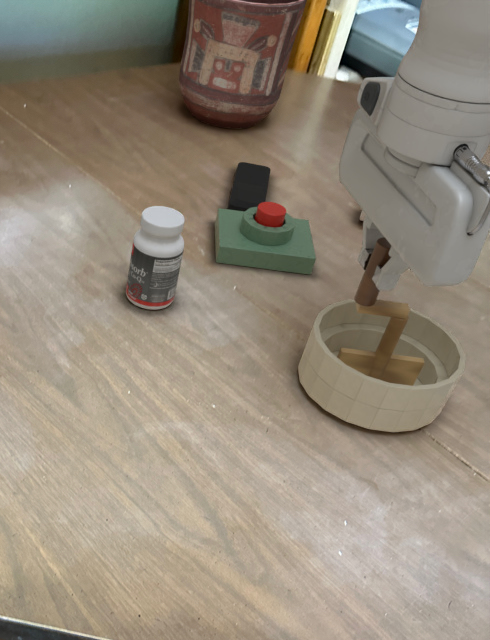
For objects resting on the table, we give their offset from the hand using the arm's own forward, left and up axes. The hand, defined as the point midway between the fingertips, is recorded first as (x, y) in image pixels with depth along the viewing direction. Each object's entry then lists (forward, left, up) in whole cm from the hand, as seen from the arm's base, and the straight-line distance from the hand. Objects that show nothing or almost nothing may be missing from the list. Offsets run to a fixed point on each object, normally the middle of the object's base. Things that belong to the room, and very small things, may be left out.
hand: (374, 276), depth 73 cm
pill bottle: (+20, -12, -13) cm, 27 cm away
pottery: (+10, -70, -13) cm, 72 cm away
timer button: (+6, -27, -9) cm, 29 cm away
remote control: (+7, -42, -13) cm, 44 cm away
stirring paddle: (-4, 0, -11) cm, 12 cm away
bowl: (-4, 0, -13) cm, 13 cm away
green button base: (+6, -27, -13) cm, 30 cm away
